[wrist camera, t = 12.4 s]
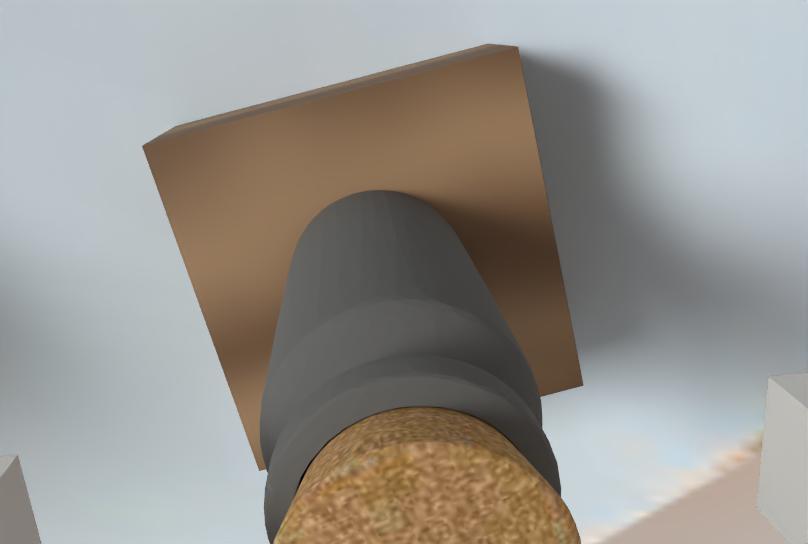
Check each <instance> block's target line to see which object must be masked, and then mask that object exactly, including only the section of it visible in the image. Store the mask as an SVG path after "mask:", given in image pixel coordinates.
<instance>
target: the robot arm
mask: <svg viewBox="0 0 808 544" xmlns="http://www.w3.org/2000/svg"><path fill="white" fill-rule="evenodd" d="M757 508H758V509H759V511H760V512H761V513H762V514H763V515H764V516H765V518H766V519H767V520H768V521H769V522H770V523H771V524H772V525H773V527H774V528H775V529H776V530H777V531H778V533H779V534H780V535H781V536H782V537H783V538H784V540H785V541H786V542H787V543H788V544H808V373H798V374H788V375H779V376H769V377H768V388H767V399H766V410H765V421H764V432H763V443H762V454H761V466H760V478H759V487H758V499H757ZM0 544H41V541H40V537H39V533H38V529H37V525H36V522H35V518H34V514H33V510H32V507H31V503H30V499H29V495H28V492H27V488H26V484H25V480H24V477H23V473H22V469H21V465H20V462H19V458H18V455H8V456H0Z"/></svg>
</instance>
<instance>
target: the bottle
mask: <svg viewBox="0 0 808 544" xmlns="http://www.w3.org/2000/svg"><path fill="white" fill-rule="evenodd" d="M260 446H261V450H262V455H263V460H264V463H265V466H266V469H267V472H268V476H267V482H266V487H265V499H264V514H265V526H266V530H267V535H268V540H269V542H270V544H581V539H580V536H579V533H578V530H577V527H576V524H575V522H574V519H573V517H572V515H571V513H570V511H569V509H568V507H567V506H566V504H565V503H564V501H563V500H562V498H561V485H560V479H559V472H558V465H557V461H556V459H555V456H554V453H553V451H552V448H551V446H550V443H549V440H548V439H547V437H546V435H545V433H544V431H543V430H542V408H541V399H540V395H539V390H538V386H537V384H536V381H535V378H534V375H533V372H532V370H531V367H530V365H529V363H528V361H527V359H526V357H525V355H524V353H523V351H522V349H521V347H520V345H519V343H518V342H517V340H516V338H515V336H514V334H513V333H512V331H511V329H510V327H509V325H508V324H507V322H506V320H505V318H504V316H503V315H502V313H501V311H500V309H499V307H498V305H497V304H496V302H495V300H494V298H493V296H492V295H491V293H490V291H489V289H488V288H487V286H486V284H485V282H484V281H483V279H482V277H481V275H480V274H479V272H478V270H477V269H476V267H475V265H474V263H473V262H472V260H471V258H470V256H469V255H468V253H467V251H466V249H465V248H464V246H463V244H462V242H461V241H460V239H459V238H458V236H457V234H456V233H455V231H454V230H453V229H452V227H451V226H450V225H449V223H448V222H447V221H446V220H445V219H444V218H443V217H442V215H441V214H440V213H438V212H437V211H436V210H435V209H434V208H432V207H431V206H430V205H428V204H427V203H425V202H423V201H421V200H419V199H417V198H415V197H413V196H410V195H407V194H404V193H400V192H396V191H386V190H371V191H363V192H359V193H354V194H351V195H349V196H346V197H343V198H341V199H339V200H337V201H335V202H333V203H332V204H330V205H328V206H327V207H326V208H324V209H323V210H322V211H321V212H320V213H319V214H318V215H317V216H316V217H315V218H314V219H313V220H312V221H311V222H310V223H309V224H308V225H307V227H306V229H305V230H304V232H303V233H302V235H301V237H300V239H299V241H298V243H297V246H296V248H295V251H294V254H293V257H292V261H291V264H290V268H289V272H288V277H287V281H286V286H285V291H284V295H283V300H282V304H281V309H280V313H279V318H278V322H277V327H276V332H275V337H274V342H273V347H272V352H271V357H270V362H269V367H268V371H267V376H266V381H265V386H264V391H263V396H262V401H261V414H260Z"/></svg>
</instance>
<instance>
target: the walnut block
mask: <svg viewBox="0 0 808 544" xmlns="http://www.w3.org/2000/svg"><path fill="white" fill-rule="evenodd" d="M142 147H143V150H144V152H145V155H146V158H147V161H148V164H149V166H150V169H151V172H152V175H153V177H154V180H155V183H156V186H157V188H158V191H159V194H160V197H161V200H162V202H163V205H164V208H165V211H166V213H167V216H168V219H169V222H170V224H171V227H172V230H173V233H174V236H175V238H176V241H177V244H178V247H179V249H180V252H181V255H182V258H183V260H184V263H185V266H186V269H187V272H188V274H189V277H190V280H191V283H192V285H193V288H194V291H195V294H196V296H197V299H198V302H199V305H200V308H201V310H202V313H203V316H204V319H205V321H206V324H207V327H208V330H209V332H210V335H211V338H212V341H213V344H214V346H215V349H216V352H217V355H218V357H219V360H220V363H221V366H222V368H223V371H224V374H225V377H226V380H227V382H228V385H229V388H230V391H231V393H232V396H233V399H234V402H235V404H236V407H237V410H238V413H239V416H240V418H241V421H242V424H243V427H244V429H245V432H246V435H247V438H248V440H249V443H250V446H251V449H252V452H253V454H254V457H255V460H256V463H257V465H258V468H259V471H261V470H265V469H266V466H265V463H264V460H263V455H262V450H261V446H260V414H261V401H262V396H263V391H264V386H265V381H266V376H267V371H268V367H269V362H270V357H271V352H272V347H273V342H274V337H275V332H276V327H277V322H278V318H279V313H280V309H281V304H282V300H283V295H284V291H285V286H286V281H287V277H288V272H289V268H290V264H291V261H292V257H293V254H294V251H295V248H296V246H297V243H298V241H299V239H300V237H301V235H302V233H303V232H304V230H305V229H306V227H307V225H308V224H309V223H310V222H311V221H312V220H313V219H314V218H315V217H316V216H317V215H318V214H319V213H320V212H321V211H322V210H323V209H324V208H326V207H327V206H328V205H330V204H332V203H333V202H335V201H337V200H339V199H341V198H343V197H346V196H349V195H351V194H354V193H359V192H363V191H371V190H386V191H396V192H400V193H404V194H407V195H410V196H413V197H415V198H417V199H419V200H421V201H423V202H425V203H427V204H428V205H430V206H431V207H432V208H434V209H435V210H436V211H437V212H438V213H440V214H441V215H442V217H443V218H444V219H445V220H446V221H447V222H448V223H449V225H450V226H451V227H452V229H453V230H454V231H455V233H456V234H457V236H458V238H459V239H460V241H461V242H462V244H463V246H464V248H465V249H466V251H467V253H468V255H469V256H470V258H471V260H472V262H473V263H474V265H475V267H476V269H477V270H478V272H479V274H480V275H481V277H482V279H483V281H484V282H485V284H486V286H487V288H488V289H489V291H490V293H491V295H492V296H493V298H494V300H495V302H496V304H497V305H498V307H499V309H500V311H501V313H502V315H503V316H504V318H505V320H506V322H507V324H508V325H509V327H510V329H511V331H512V333H513V334H514V336H515V338H516V340H517V342H518V343H519V345H520V347H521V349H522V351H523V353H524V355H525V357H526V359H527V361H528V363H529V365H530V367H531V370H532V372H533V375H534V378H535V381H536V384H537V386H538V390H539V395H540V397H541V396H545V395H549V394H553V393H557V392H560V391H564V390H568V389H572V388H576V387H579V386H583V381H582V376H581V371H580V365H579V360H578V355H577V350H576V345H575V340H574V334H573V329H572V324H571V319H570V314H569V309H568V303H567V298H566V293H565V288H564V283H563V277H562V272H561V267H560V262H559V257H558V252H557V246H556V241H555V236H554V231H553V226H552V221H551V215H550V210H549V205H548V200H547V195H546V190H545V184H544V179H543V174H542V169H541V164H540V159H539V153H538V148H537V143H536V138H535V133H534V128H533V122H532V117H531V112H530V107H529V102H528V96H527V91H526V86H525V81H524V76H523V71H522V65H521V60H520V55H519V50H518V47H516V46H505V45H495V44H485V45H481V46H478V47H474V48H470V49H466V50H463V51H459V52H455V53H451V54H447V55H444V56H440V57H436V58H432V59H428V60H425V61H421V62H417V63H413V64H410V65H406V66H402V67H398V68H394V69H391V70H387V71H383V72H379V73H375V74H372V75H368V76H364V77H360V78H356V79H353V80H349V81H345V82H341V83H338V84H334V85H330V86H326V87H322V88H319V89H315V90H311V91H307V92H303V93H300V94H296V95H292V96H288V97H284V98H281V99H277V100H273V101H269V102H266V103H262V104H258V105H254V106H250V107H247V108H243V109H239V110H235V111H231V112H228V113H224V114H220V115H216V116H213V117H209V118H205V119H201V120H197V121H194V122H190V123H186V124H182V125H178V126H175V127H173V128H172V129H170V130H168V131H167V132H165V133H163V134H162V135H160V136H158V137H156V138H155V139H153V140H151V141H150V142H148V143H146V144H145V145H143V146H142Z"/></svg>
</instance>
